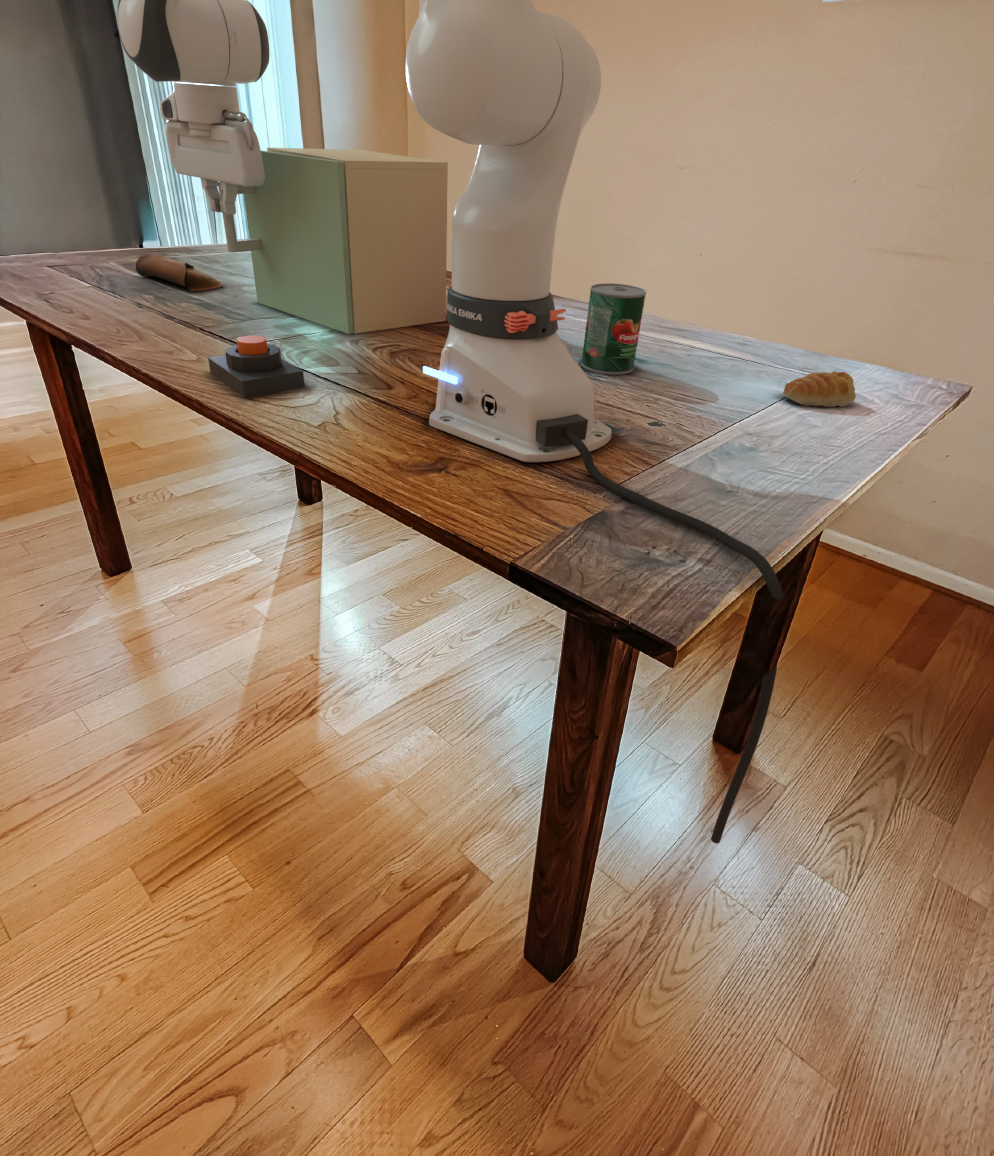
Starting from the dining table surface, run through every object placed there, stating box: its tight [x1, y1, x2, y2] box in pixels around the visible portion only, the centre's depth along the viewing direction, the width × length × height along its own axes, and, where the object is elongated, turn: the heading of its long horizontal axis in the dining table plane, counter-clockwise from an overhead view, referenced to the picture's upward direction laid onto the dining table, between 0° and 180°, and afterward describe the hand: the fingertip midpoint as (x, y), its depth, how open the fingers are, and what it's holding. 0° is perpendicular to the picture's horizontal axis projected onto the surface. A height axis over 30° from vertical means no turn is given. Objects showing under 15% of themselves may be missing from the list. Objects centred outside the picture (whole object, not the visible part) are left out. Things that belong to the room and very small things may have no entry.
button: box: [236, 334, 268, 355], centre depth 88 cm, size 4×4×2 cm
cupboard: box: [266, 147, 449, 334], centre depth 118 cm, size 18×26×24 cm
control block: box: [207, 343, 306, 399], centre depth 89 cm, size 11×8×4 cm
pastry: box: [781, 370, 857, 408], centre depth 95 cm, size 9×7×4 cm
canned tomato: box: [580, 282, 647, 376], centre depth 101 cm, size 8×8×11 cm
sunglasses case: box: [135, 254, 224, 293], centre depth 134 cm, size 18×7×7 cm
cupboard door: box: [217, 150, 354, 335], centre depth 109 cm, size 7×26×24 cm, turn 48°
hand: (223, 213), depth 111 cm, fingers closed on cupboard door, 2 cm apart
